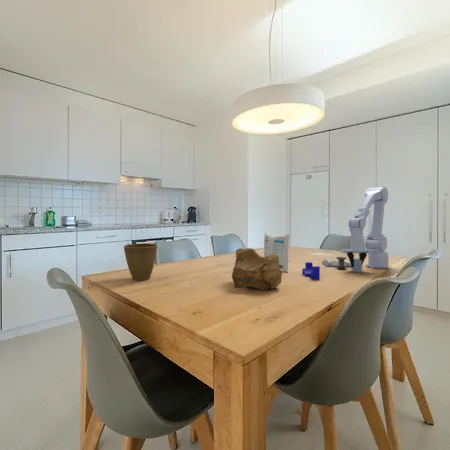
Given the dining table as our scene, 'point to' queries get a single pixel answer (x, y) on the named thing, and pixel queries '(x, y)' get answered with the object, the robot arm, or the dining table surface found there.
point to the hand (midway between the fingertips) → (356, 267)
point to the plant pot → (140, 260)
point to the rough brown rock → (256, 270)
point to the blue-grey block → (357, 265)
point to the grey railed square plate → (335, 263)
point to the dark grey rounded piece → (341, 263)
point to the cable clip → (311, 271)
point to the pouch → (277, 248)
